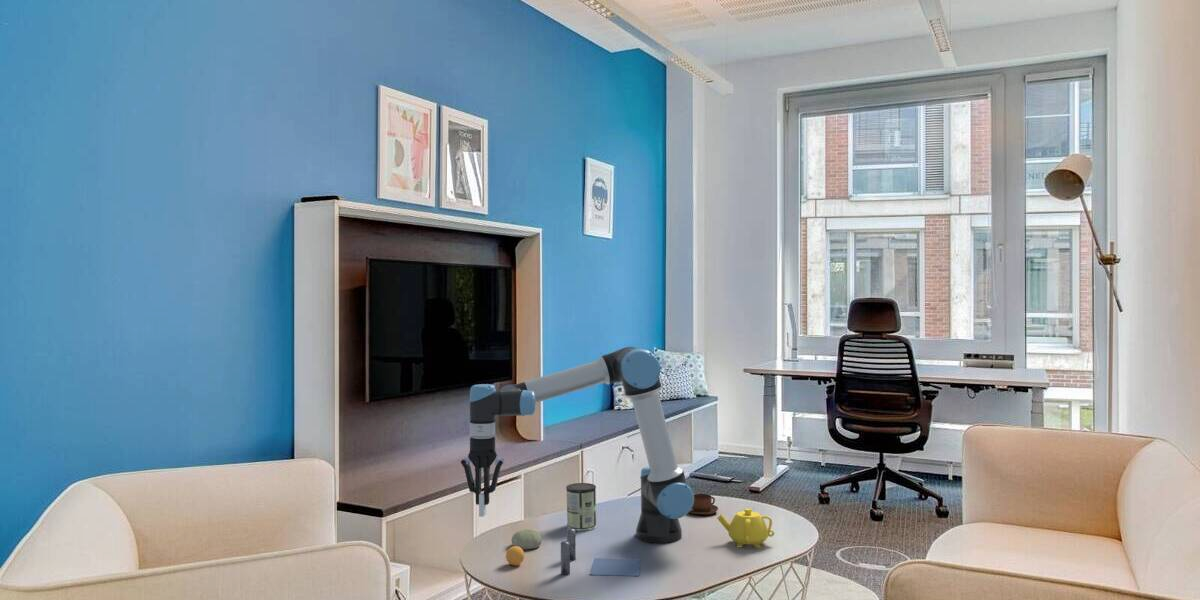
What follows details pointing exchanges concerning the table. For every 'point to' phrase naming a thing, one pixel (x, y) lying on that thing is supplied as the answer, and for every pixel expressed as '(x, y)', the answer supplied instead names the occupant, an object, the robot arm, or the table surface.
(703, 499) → the cup and saucer
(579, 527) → the coffee can
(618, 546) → the table surface
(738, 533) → the teapot
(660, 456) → the robot arm
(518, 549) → the ball
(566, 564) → the post
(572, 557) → the post
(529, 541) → the sea urchin shell
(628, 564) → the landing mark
